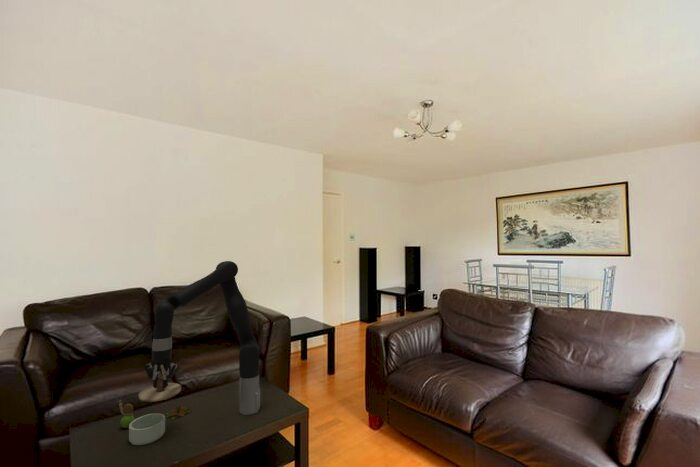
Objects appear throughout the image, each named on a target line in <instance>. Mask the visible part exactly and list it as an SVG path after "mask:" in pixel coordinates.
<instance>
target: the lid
mask: <svg viewBox="0 0 700 467" xmlns="http://www.w3.org/2000/svg"><path fill="white" fill-rule="evenodd" d="M163 380H164V378H163V376H162V377H158V379H157V388H154V387H153V385H150V386H147V387H145V388H144V389H142V390H141V391H139V393H138V399H139V400H140V401H142V402H147V403H149V402H150V403H151V402H160V401H163V400H168V399H170V398H174V397H175V396H177V395H178V394H180V393H181V391H182V385H181V384H179V383H176V382H168V386H167V387H166V388H163Z"/></svg>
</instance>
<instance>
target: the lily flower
mask: <svg viewBox="0 0 700 467" xmlns="http://www.w3.org/2000/svg"><path fill="white" fill-rule="evenodd" d="M178 403H179V402H178ZM183 404H184V403H179V406H178V405H177V403H176V404H175V405H174V404H173V407H174V408H172V410H171V411H168V412H166V413H164V415H167V416H165V419H167V418H169V417H170V418H171V419H172V420H175V419H176V418H178V417H179V416H180V417H184V416H185V414H188V413H191V412H192V411H191V410H189V407H186V406H185V407H184V406H182V405H183Z"/></svg>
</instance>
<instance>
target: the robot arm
mask: <svg viewBox="0 0 700 467" xmlns="http://www.w3.org/2000/svg"><path fill="white" fill-rule="evenodd" d="M238 273H239V267H238V265H237V264H236V263H235V262H233V261H231V260H225V261H224V260H223V261H221V262H219V263H218V264H217V265H216V267H215V270H214V271H213V270H212V272H210V274H208V275H206V276H204V277H203V278H201V279H198V280H196V281H194V282H193V283H190V284H189V285H187V286H185V287H183V288H181V289H179V291H177V292H176V293H174V294H172V295H169V296H167V297H165V298H163V299H161V300H160V301H158V302H157V303H156V304H155V305H153V313H154V315H155V325H154V326H153V337H152V343H151V362H149V363H147V364H145V365H144V370H145V372H146V375H147V378H148V379H152V386H153V387H154V388H157V379H158V378H159V376H160V373H162V374H161V375H162V377H163V378H164V380H163V388H166V387H167V386H168V383H169V380H170V379H171V378H172V377H173V376H174V375H175V373H176V371H177V368H178V366H179V364H178V363H174V362H173V360H172V353H173V350H172V349H173V340H172V339H173V338H172V337H173V335H172V333H173V326H172V325H173V321H174V313H175V312H174V311H175V310H176V309H178V308H181V307H185V306H187V305H189V303H191V302H194V300H196V299H198V298H199V297H200V296H203V295H204V294H205V293H206V292H208V291H210V290H211V289H213V288H215V287H217V286H218V285H220V287H221V289H222V293H223V297H224V303H225V306H226V309H227V314H228V317H229V320H230V323H231V325H232V327H233V328H234V331H236V332H235V333H236V334H237V338H238V343H239V355H238V360H239V363H238V364H239V365H238V366H239V367H238V371H239V414H241V415H243V416H250V415H254V414H257V413H258V412H259V411H260V409H261V388H260V346H259V343H258V341H257V340H256V337H255V335H254V332H253V329H252V322H251V316H250V314H249V310H248V306H247V302H246V300H245V298H244V297H243V296H244V295H243V294H242V292H241V291H240V289H239V287H238V285H237V284H238V283H237V282H236V277H237V275H238Z"/></svg>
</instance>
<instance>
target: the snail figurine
mask: <svg viewBox="0 0 700 467" xmlns="http://www.w3.org/2000/svg"><path fill="white" fill-rule="evenodd" d="M118 406H119V411H120V414H122V415H123V416H122V417H121V418H120V421H119V424H120V426H121V427H120V428H123V429H129V424H130V423H131V422H132V421H134V420H135V419H136V418H135V416H134V415H133V414H134V412H133V411H134V406H133V404H131V403H126V404H125V405H124V404H123V403H122V400H121V399H120V400H118Z"/></svg>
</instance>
